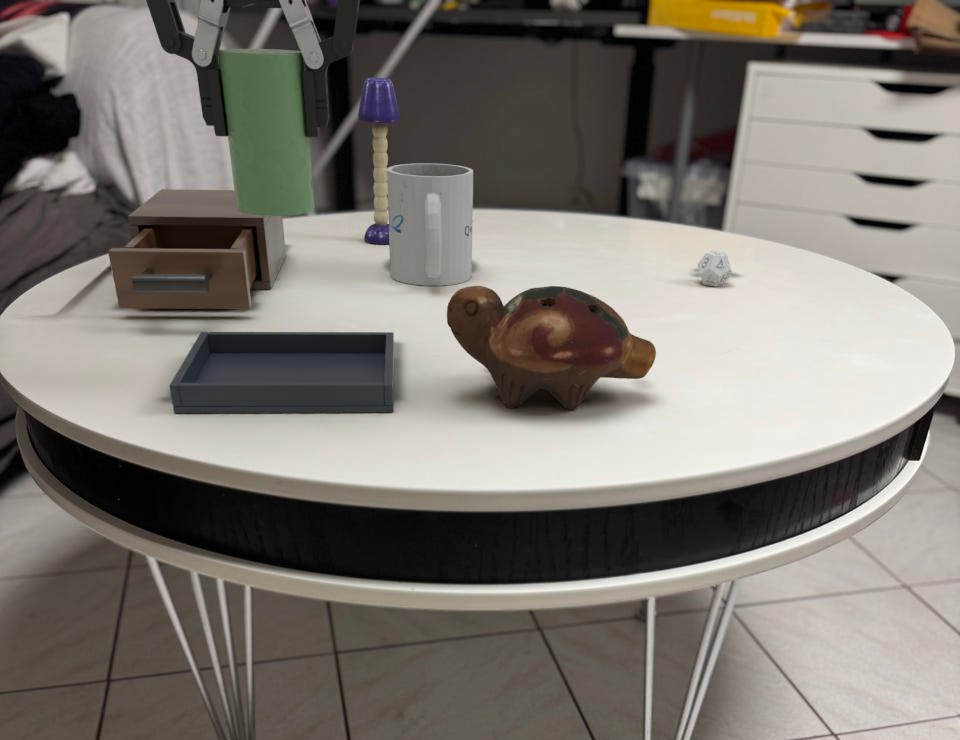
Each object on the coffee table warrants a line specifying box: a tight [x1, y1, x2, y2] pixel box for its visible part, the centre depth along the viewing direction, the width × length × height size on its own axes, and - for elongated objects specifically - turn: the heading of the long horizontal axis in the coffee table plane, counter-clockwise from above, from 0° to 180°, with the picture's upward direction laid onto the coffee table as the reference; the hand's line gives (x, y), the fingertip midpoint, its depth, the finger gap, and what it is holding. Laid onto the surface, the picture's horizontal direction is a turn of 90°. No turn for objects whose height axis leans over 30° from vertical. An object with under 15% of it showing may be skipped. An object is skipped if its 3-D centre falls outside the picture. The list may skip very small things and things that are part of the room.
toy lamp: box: [357, 77, 401, 245], centre depth 104 cm, size 5×5×17 cm
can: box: [218, 48, 316, 217], centre depth 59 cm, size 5×5×9 cm
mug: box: [387, 162, 474, 287], centre depth 92 cm, size 12×9×10 cm
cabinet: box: [127, 188, 287, 290], centre depth 93 cm, size 15×13×7 cm
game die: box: [697, 250, 733, 287], centre depth 95 cm, size 4×4×3 cm
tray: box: [169, 331, 395, 414], centre depth 68 cm, size 15×12×2 cm
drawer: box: [107, 225, 260, 310], centre depth 83 cm, size 18×11×5 cm, turn 4°
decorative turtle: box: [446, 285, 657, 411], centre depth 65 cm, size 10×15×8 cm, turn 98°
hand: (268, 134), depth 59 cm, fingers closed on can, 5 cm apart
